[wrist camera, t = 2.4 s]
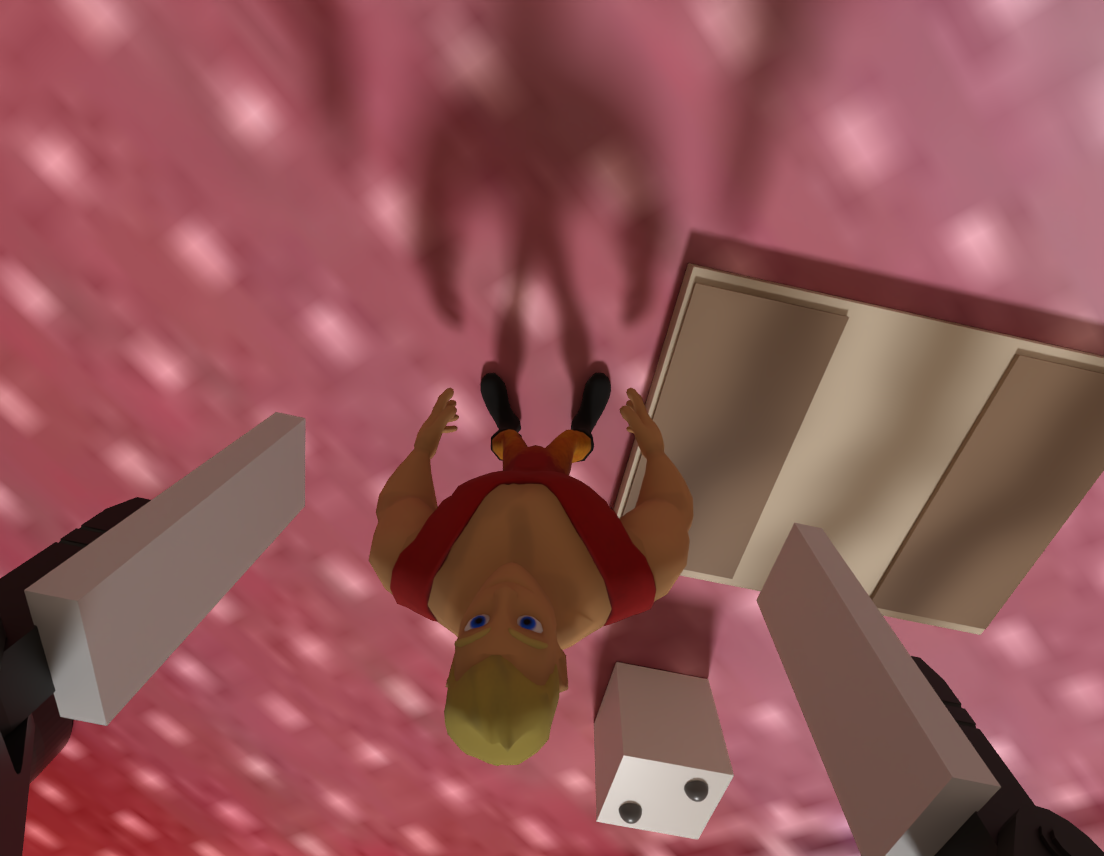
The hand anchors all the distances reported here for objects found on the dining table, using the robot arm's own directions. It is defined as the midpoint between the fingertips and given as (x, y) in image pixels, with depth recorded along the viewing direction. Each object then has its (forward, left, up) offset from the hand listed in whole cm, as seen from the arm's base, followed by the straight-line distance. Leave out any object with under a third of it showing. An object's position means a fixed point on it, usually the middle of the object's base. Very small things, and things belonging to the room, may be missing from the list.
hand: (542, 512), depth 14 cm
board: (+13, 0, -8) cm, 15 cm away
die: (+9, -16, -8) cm, 20 cm away
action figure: (0, 0, -9) cm, 9 cm away
